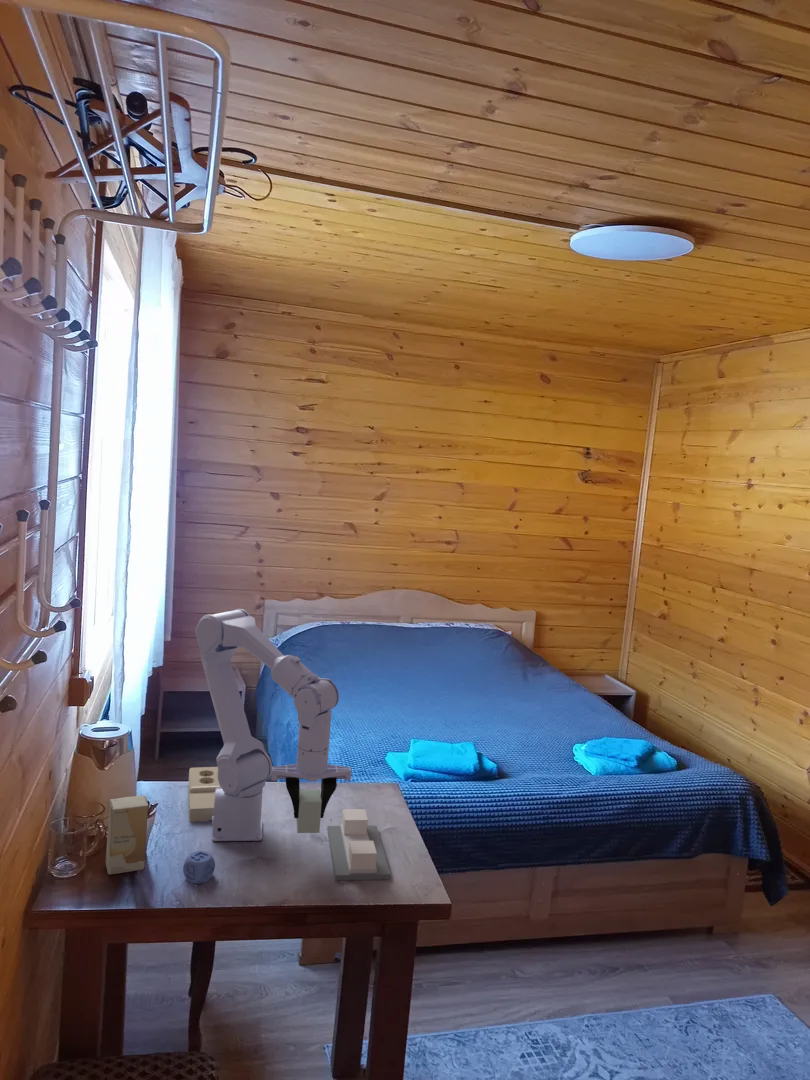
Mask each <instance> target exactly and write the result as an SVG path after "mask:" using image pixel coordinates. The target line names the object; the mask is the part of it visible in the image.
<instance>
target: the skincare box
mask: <svg viewBox="0 0 810 1080" xmlns="http://www.w3.org/2000/svg"><path fill="white" fill-rule="evenodd" d="M148 814H149V803H148V799H147V796H146V795H135V796H124V797H119V798H118V797H117V798H116V797H115V798H109V804H108V818H107V819H108V822H107V832H106V833H107V834H106V835H107V836H106V851H105V867H106V871H107V874H108V875H114V874H122V873H130V872H134V871H135V872H136V871H142V870H144V869H145V860H146V849H147V848H146V847H147V846H146V845H147V834H148V833H147V831H148V830H147V829H148Z"/></svg>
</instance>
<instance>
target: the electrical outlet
mask: <svg viewBox="0 0 810 1080" xmlns="http://www.w3.org/2000/svg"><path fill="white" fill-rule="evenodd" d="M216 788H221V786H220V784H219V781H218V766H203V767H201V766H198V767H190V768H189V771H188V817H189V818H188V819H189V820H188V822H189V823H193V822H194V823H195V822H196V821H200V822H208V821H207V820H212V816H214V801H215V790H216Z"/></svg>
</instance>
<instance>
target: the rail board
mask: <svg viewBox="0 0 810 1080" xmlns="http://www.w3.org/2000/svg"><path fill="white" fill-rule="evenodd" d="M341 814H342V815H341V823H340V825H328V826H327V831H328V832H327V837H328V843H329V849H330V855H331V862H332V863H331V864H332V869H333V876H334V881H368V880H369V881H371V880H374V881H375V880H378V881H379V880H391V872H390V869H389V865H388V860H387V857H386V854H385V851H384V847H383V842H382V840H381V837H380V836H381V835H380V833H379V829H378V827H377V826H378V825H368V823H369V821H368V815H367V811H366V809H365V808H363V809H362V808H361V809H359V808H355V809H354V808H353V809H351V808H350V809H349V808H348V809H344V808H343V809H342V813H341Z"/></svg>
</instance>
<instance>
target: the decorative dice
mask: <svg viewBox="0 0 810 1080" xmlns="http://www.w3.org/2000/svg"><path fill="white" fill-rule="evenodd" d="M215 868H216V861H215V858H214V857H213V855H212V854H210V852H208V851H204V850H197V851H194V852H191V853H190V854H188V855H187V856H186V858H185V861H184V863H183V866H182V872H183V875H184V878H185V880H187V881H188V882H189V883H191V884H196V885H197V884H204V883H206V882H208V881H209V880H210V879H211V878H212V876H213V874H214V872H215Z"/></svg>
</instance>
